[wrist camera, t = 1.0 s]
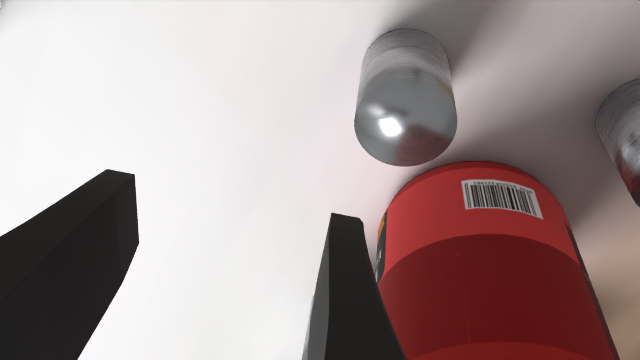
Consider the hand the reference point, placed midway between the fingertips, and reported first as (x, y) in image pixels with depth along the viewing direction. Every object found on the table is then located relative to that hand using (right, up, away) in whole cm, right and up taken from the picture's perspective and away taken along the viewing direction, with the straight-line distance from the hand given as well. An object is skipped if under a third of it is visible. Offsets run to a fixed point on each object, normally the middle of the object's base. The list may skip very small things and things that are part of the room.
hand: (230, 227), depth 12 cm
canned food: (+9, -1, +13) cm, 15 cm away
